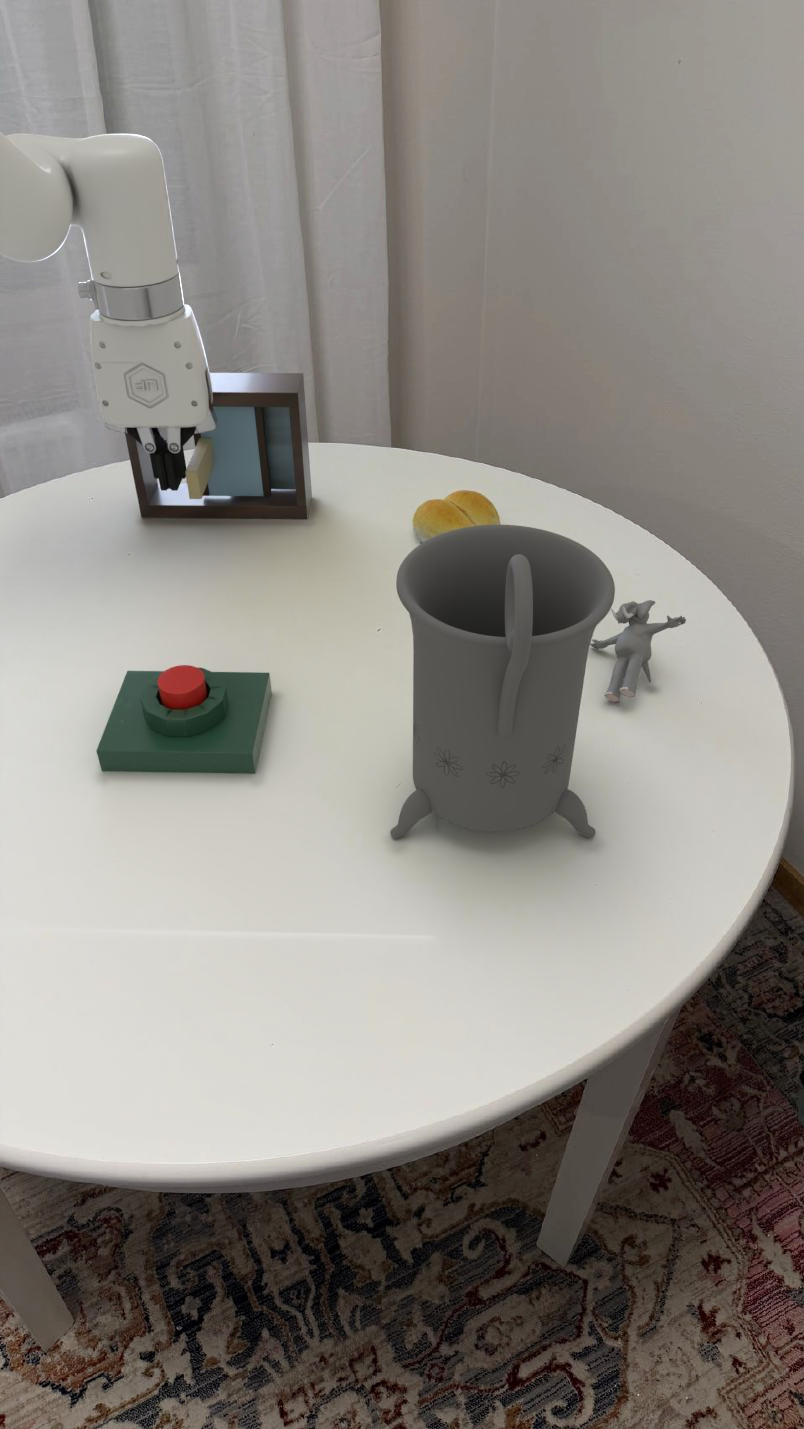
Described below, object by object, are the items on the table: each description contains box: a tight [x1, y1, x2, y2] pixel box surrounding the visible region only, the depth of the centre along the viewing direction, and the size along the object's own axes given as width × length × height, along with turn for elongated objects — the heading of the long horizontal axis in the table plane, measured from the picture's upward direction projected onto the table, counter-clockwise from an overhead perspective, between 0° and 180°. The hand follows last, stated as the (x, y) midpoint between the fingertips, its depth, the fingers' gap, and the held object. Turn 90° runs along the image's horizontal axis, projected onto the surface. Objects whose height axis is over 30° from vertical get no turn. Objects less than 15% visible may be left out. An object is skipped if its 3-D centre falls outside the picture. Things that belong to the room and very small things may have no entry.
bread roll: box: [412, 489, 502, 543], centre depth 104 cm, size 8×9×4 cm
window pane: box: [185, 407, 271, 499], centre depth 102 cm, size 7×8×10 cm
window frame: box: [124, 372, 313, 520], centre depth 105 cm, size 18×5×14 cm, turn 88°
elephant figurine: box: [590, 599, 687, 703], centre depth 85 cm, size 10×6×9 cm
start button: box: [158, 664, 207, 710], centre depth 79 cm, size 4×4×2 cm
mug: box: [389, 524, 616, 840], centre depth 67 cm, size 19×15×25 cm
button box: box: [95, 667, 273, 775], centre depth 80 cm, size 12×10×4 cm
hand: (172, 483), depth 101 cm, fingers closed
